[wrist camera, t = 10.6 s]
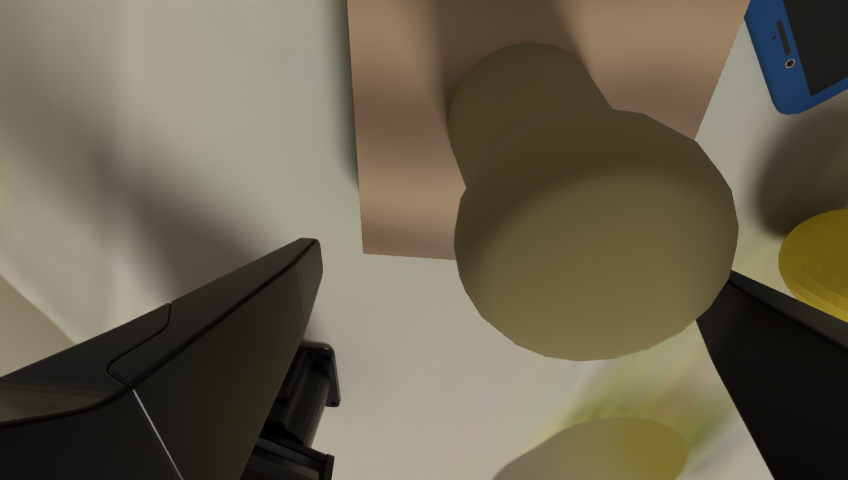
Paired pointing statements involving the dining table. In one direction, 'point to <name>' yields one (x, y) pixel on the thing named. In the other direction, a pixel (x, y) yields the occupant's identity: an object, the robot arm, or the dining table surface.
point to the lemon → (818, 262)
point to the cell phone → (800, 49)
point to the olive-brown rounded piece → (581, 211)
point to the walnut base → (476, 39)
